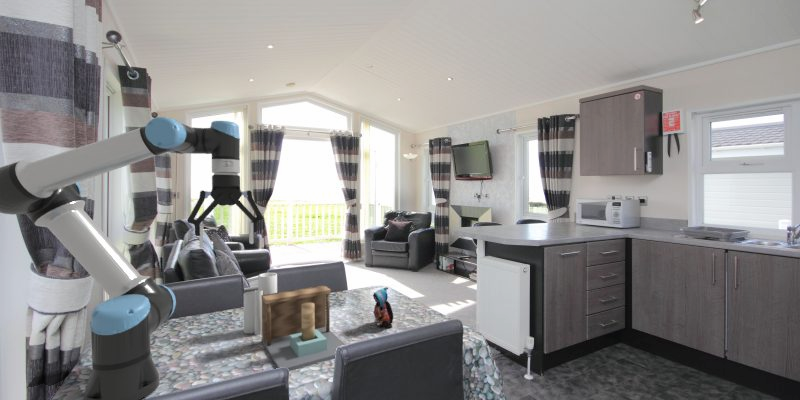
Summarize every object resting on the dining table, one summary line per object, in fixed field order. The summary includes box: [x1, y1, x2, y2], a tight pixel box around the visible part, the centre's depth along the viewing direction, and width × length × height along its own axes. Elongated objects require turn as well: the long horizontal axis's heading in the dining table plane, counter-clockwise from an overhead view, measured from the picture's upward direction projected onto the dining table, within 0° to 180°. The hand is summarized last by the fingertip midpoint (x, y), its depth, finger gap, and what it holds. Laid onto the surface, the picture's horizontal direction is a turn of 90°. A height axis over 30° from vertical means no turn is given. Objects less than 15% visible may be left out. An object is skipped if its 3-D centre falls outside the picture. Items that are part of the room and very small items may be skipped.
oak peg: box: [301, 303, 315, 342], centre depth 113 cm, size 4×4×14 cm
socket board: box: [261, 327, 347, 372], centre depth 116 cm, size 22×24×4 cm
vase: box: [243, 272, 278, 336], centre depth 129 cm, size 11×7×20 cm, turn 123°
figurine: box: [372, 286, 394, 329], centre depth 134 cm, size 10×7×15 cm
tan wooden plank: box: [261, 285, 332, 346], centre depth 123 cm, size 22×6×16 cm, turn 123°
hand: (227, 245), depth 107 cm, fingers open, 13 cm apart
